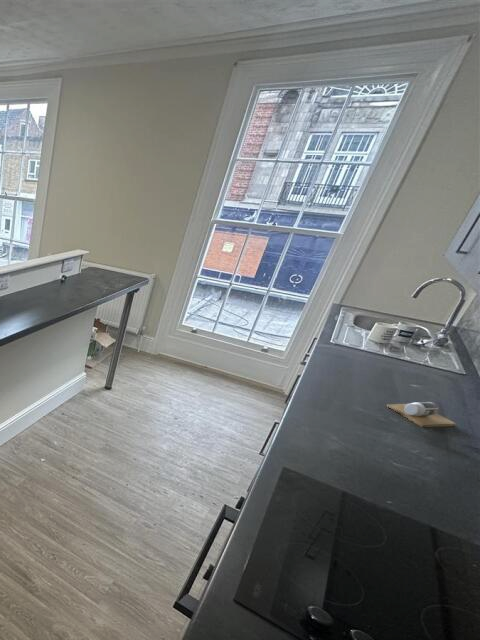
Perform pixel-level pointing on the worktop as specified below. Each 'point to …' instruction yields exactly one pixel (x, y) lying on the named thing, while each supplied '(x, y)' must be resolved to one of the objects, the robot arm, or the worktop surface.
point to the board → (422, 417)
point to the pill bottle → (421, 408)
